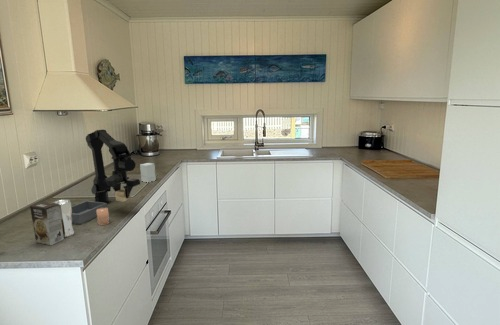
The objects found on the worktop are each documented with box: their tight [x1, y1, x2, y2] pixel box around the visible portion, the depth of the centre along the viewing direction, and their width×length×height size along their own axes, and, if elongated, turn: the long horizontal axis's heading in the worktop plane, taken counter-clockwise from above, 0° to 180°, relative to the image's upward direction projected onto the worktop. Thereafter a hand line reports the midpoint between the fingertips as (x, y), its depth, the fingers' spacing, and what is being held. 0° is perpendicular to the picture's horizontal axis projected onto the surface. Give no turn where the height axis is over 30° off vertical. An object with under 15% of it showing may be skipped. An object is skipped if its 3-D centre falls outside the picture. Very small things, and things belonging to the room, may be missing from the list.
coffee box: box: [29, 201, 65, 246], centre depth 131 cm, size 9×6×16 cm
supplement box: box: [139, 162, 157, 184], centre depth 225 cm, size 7×7×13 cm
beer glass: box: [52, 199, 75, 238], centre depth 137 cm, size 7×7×15 cm
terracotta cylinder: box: [96, 207, 110, 226], centre depth 150 cm, size 5×5×7 cm
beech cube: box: [114, 188, 131, 203], centre depth 163 cm, size 5×5×5 cm
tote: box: [71, 200, 109, 226], centre depth 159 cm, size 18×14×5 cm
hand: (123, 197), depth 163 cm, fingers closed on beech cube, 5 cm apart
